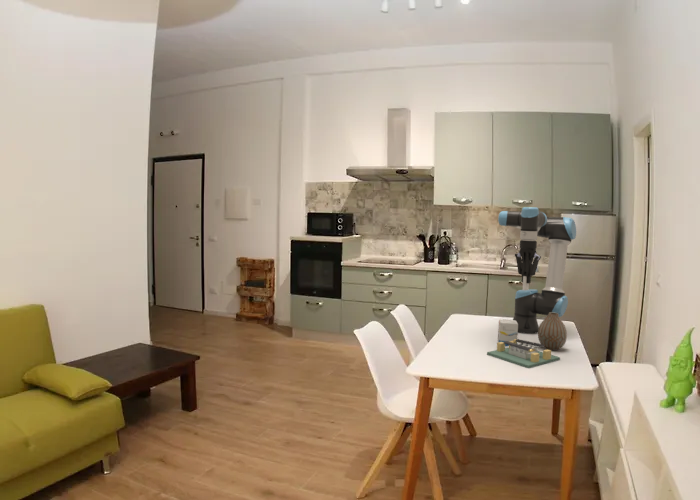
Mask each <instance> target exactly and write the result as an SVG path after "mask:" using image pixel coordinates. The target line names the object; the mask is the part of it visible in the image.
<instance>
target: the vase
mask: <svg viewBox="0 0 700 500" xmlns="http://www.w3.org/2000/svg"><path fill="white" fill-rule="evenodd" d="M538 326H539V329H538V333H537V339H538V342H539V344H543V345H544V347H543V348H544V350H547V349H548V350H551V351H559V350H560V349H561V348H563V347H564V346H565V344H566V342H567V338H568V331H567V328H566V325H565V323H564V322H563V321H562V319H561V317H559V315H558V313H554V312H549V314H548V316H547V315H546V317H545V318H544V319H543V320H542V322H541V323H540V324H539V325H538Z"/></svg>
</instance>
